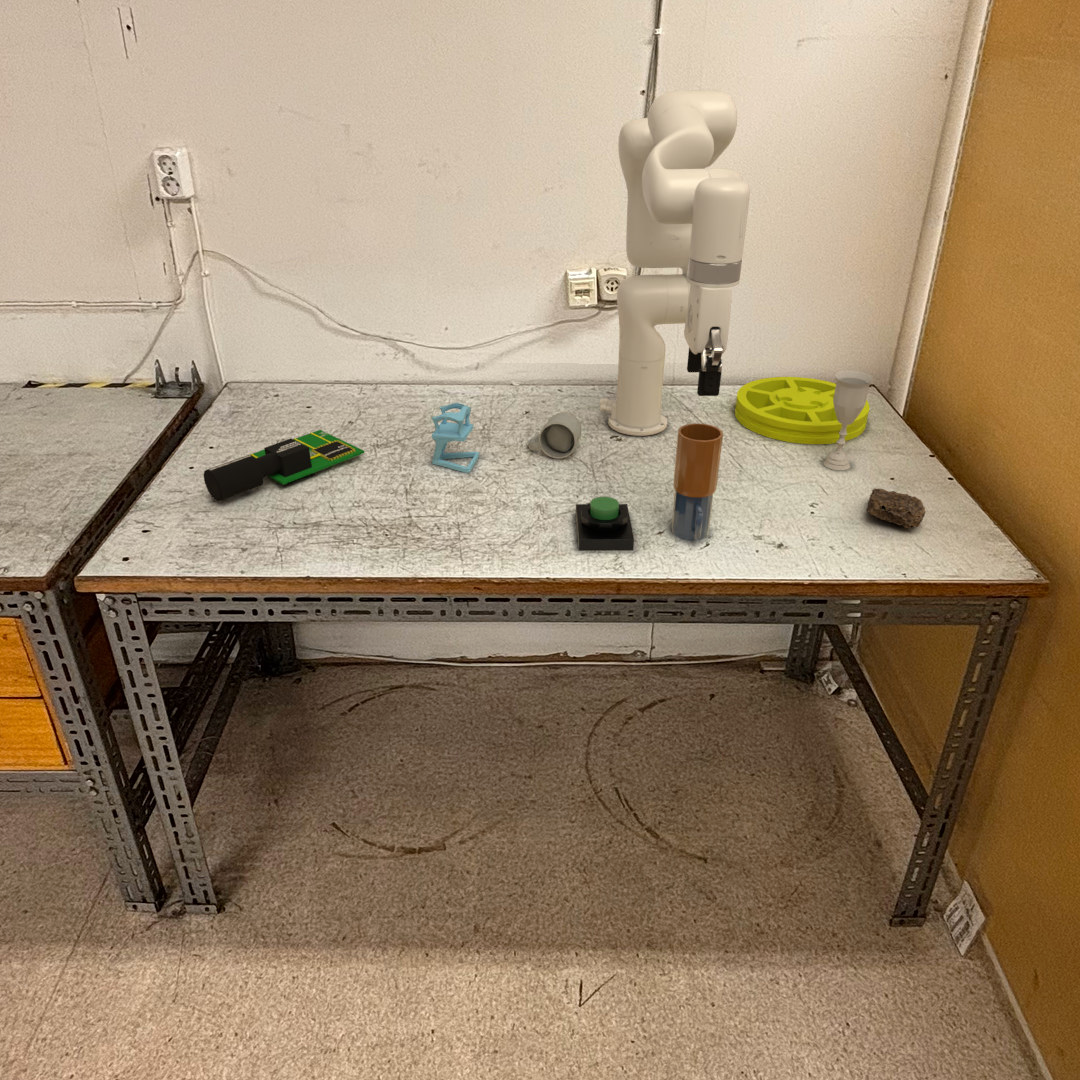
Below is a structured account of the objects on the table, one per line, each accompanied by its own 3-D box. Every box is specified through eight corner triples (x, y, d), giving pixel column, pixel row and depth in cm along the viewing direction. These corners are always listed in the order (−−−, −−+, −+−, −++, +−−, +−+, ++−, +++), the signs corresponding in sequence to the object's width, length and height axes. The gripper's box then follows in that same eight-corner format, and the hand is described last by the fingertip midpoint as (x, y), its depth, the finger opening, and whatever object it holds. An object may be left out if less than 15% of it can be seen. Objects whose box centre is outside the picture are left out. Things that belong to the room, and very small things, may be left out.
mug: (668, 523, 150) (672, 479, 145) (704, 522, 150) (709, 478, 146) (677, 550, 142) (682, 504, 138) (715, 549, 142) (720, 504, 138)
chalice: (856, 474, 166) (875, 385, 156) (820, 471, 167) (836, 382, 157) (852, 458, 172) (870, 371, 162) (817, 455, 173) (833, 369, 164)
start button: (619, 520, 143) (620, 510, 142) (590, 521, 143) (591, 510, 142) (617, 506, 147) (617, 496, 146) (589, 507, 147) (589, 496, 146)
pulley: (890, 439, 179) (895, 417, 177) (763, 448, 176) (766, 426, 173) (830, 390, 203) (834, 370, 200) (717, 397, 199) (719, 377, 196)
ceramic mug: (583, 443, 177) (583, 408, 173) (575, 460, 171) (576, 424, 167) (532, 440, 179) (531, 405, 175) (523, 456, 173) (522, 421, 169)
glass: (667, 491, 141) (672, 436, 136) (681, 474, 147) (686, 420, 142) (708, 501, 139) (714, 444, 134) (721, 483, 144) (728, 428, 139)
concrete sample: (916, 540, 145) (923, 514, 142) (855, 524, 149) (860, 498, 147) (929, 511, 153) (936, 486, 150) (871, 497, 158) (877, 472, 155)
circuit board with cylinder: (316, 406, 177) (361, 426, 168) (321, 437, 180) (365, 458, 172) (179, 452, 158) (221, 477, 149) (187, 485, 162) (229, 512, 153)
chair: (440, 452, 174) (436, 396, 168) (479, 456, 173) (477, 399, 166) (428, 469, 168) (423, 411, 161) (469, 473, 166) (466, 415, 160)
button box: (633, 550, 142) (634, 529, 140) (578, 551, 142) (579, 530, 140) (626, 514, 152) (627, 494, 150) (575, 515, 152) (576, 495, 150)
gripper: (679, 256, 132) (670, 363, 141) (698, 287, 117) (686, 405, 126) (728, 256, 132) (716, 363, 141) (753, 287, 117) (737, 405, 126)
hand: (702, 383), depth 134 cm, fingers open, 9 cm apart
